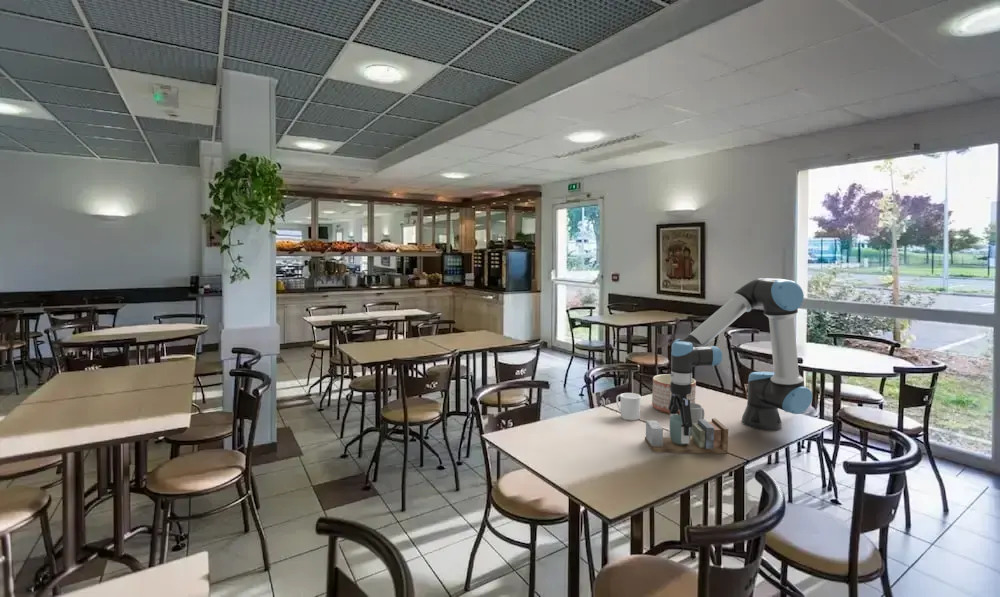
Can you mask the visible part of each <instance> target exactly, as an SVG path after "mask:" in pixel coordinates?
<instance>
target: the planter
mask: <svg viewBox="0 0 1000 597" xmlns="http://www.w3.org/2000/svg"><path fill="white" fill-rule="evenodd" d="M670 374H671V373H667V374H666V373H665V374H664V373H663V374H656V375H654V376H653V377H652V398H651V399H652V400H651V403H652V404H651V405H652V407H653V408H654V409H655V410H657V411H658V412H660V413H663V414H666V415H670V414H671V413H670V410H669V404H670V400H671V395H672V392H671V391H670V385H671V382H672V381H671V376H670ZM696 388H697V380H696V379H695V378H693V377H692V382H691V393H690V394H688V395H686V398H687V400H690V403H696V395H697V394H696V392H697V391H696V390H697V389H696ZM678 412H679V413H676V414H678V415H680V410H679V409H678Z"/></svg>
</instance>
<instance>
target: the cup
mask: <svg viewBox="0 0 1000 597" xmlns="http://www.w3.org/2000/svg"><path fill="white" fill-rule="evenodd" d="M687 424H688V423H687ZM681 425H683V424H682V419H681V415H672V416H669V430H668V431H669V437H670V439H671V441H672V442H673V443H675V444H678V445H685V444H684V443H681V429H682V427H681ZM691 436H692V434H691V427H690V431H689V440H690V438H691Z"/></svg>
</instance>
